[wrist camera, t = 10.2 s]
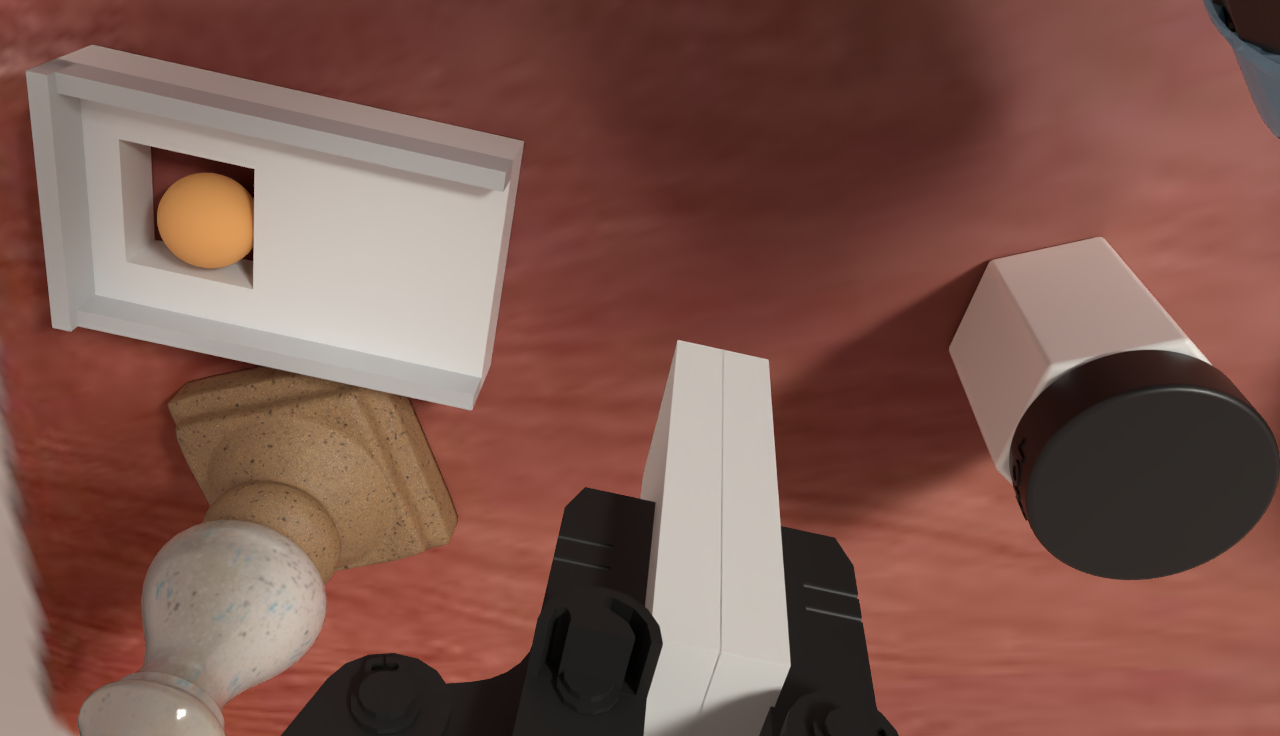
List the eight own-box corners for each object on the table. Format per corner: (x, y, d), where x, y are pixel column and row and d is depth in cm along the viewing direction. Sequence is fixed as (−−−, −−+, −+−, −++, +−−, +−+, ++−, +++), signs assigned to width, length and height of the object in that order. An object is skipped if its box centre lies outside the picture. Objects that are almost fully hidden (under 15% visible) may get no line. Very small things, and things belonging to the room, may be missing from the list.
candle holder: (462, 523, 52) (287, 1003, 31) (272, 554, 54) (-10, 1023, 33) (385, 340, 47) (116, 768, 26) (179, 381, 49) (-222, 809, 28)
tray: (92, 44, 41) (25, 70, 37) (524, 141, 42) (503, 176, 38) (109, 283, 47) (52, 327, 43) (490, 365, 47) (469, 416, 43)
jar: (911, 318, 44) (967, 478, 34) (1071, 195, 41) (1187, 330, 31) (1033, 442, 47) (1119, 625, 37) (1192, 335, 44) (1337, 504, 33)
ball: (135, 166, 41) (196, 201, 39) (222, 153, 44) (282, 185, 42) (137, 255, 43) (196, 293, 41) (220, 237, 46) (278, 271, 44)
